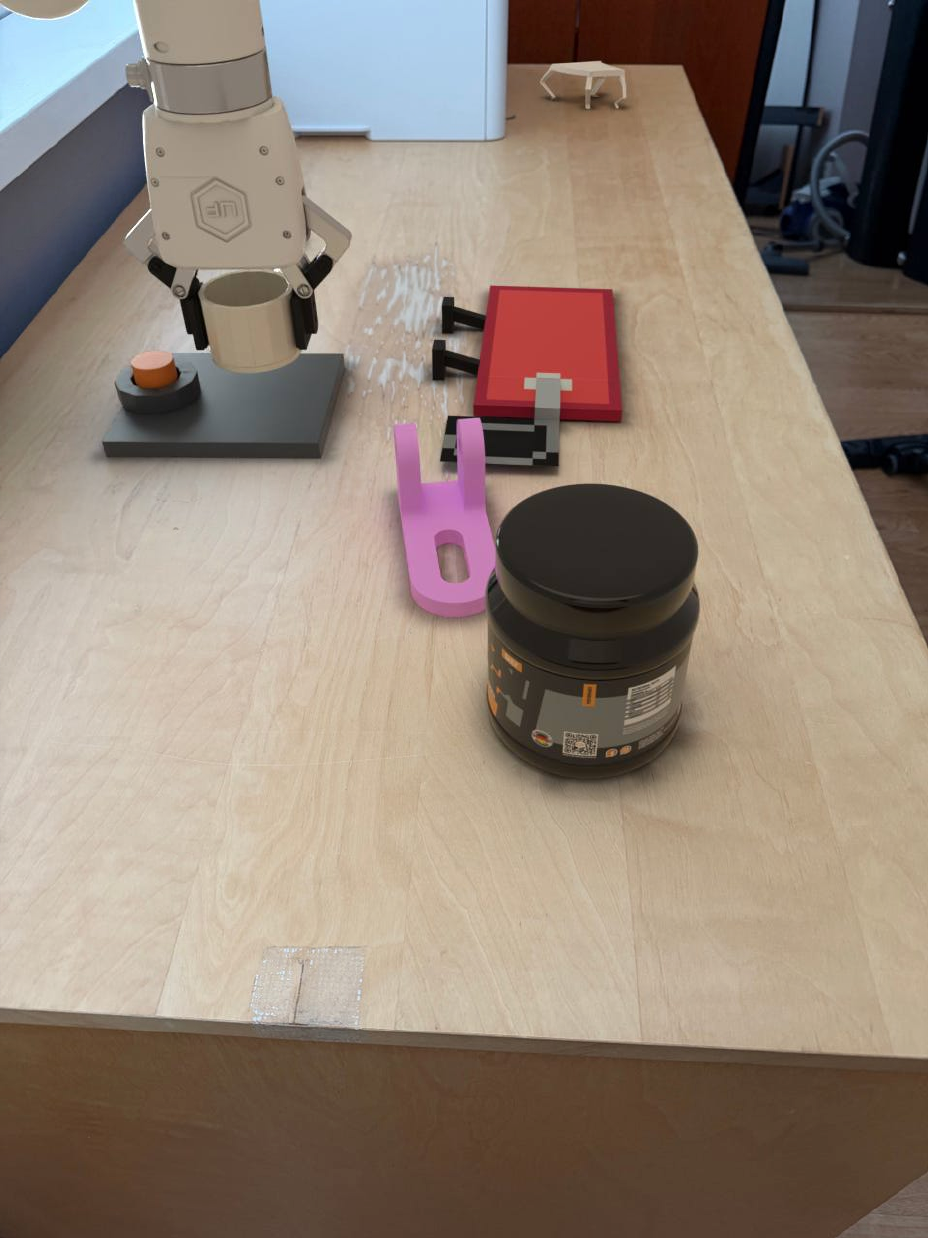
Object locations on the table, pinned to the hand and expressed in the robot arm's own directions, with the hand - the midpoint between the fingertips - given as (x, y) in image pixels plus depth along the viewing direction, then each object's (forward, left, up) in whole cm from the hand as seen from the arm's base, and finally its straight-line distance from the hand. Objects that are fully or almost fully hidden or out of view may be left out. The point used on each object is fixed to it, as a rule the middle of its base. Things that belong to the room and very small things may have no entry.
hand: (254, 340), depth 78 cm
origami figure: (+28, +84, -6) cm, 89 cm away
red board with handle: (+20, +6, -6) cm, 22 cm away
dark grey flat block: (-3, 0, -6) cm, 7 cm away
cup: (0, 0, -1) cm, 1 cm away
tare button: (-8, 0, -3) cm, 9 cm away
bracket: (+15, -18, -6) cm, 24 cm away
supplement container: (+23, -32, -6) cm, 40 cm away
